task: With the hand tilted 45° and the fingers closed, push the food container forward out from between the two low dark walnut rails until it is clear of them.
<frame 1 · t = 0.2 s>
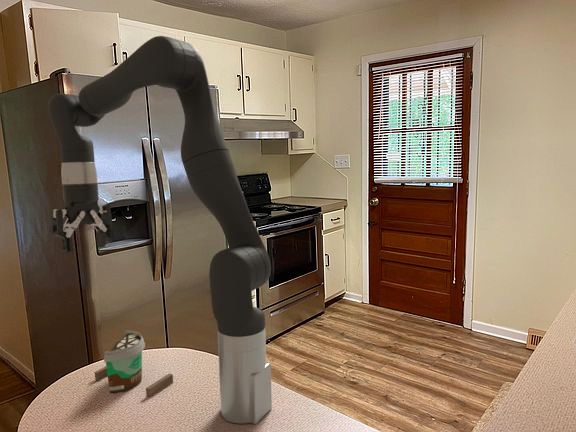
hand: (85, 250, 105), 29 cm above the countertop, tool pointing down, fingers open, 8 cm apart
food container: (132, 383, 99), on the countertop
slot rails: (133, 381, 99), on the countertop
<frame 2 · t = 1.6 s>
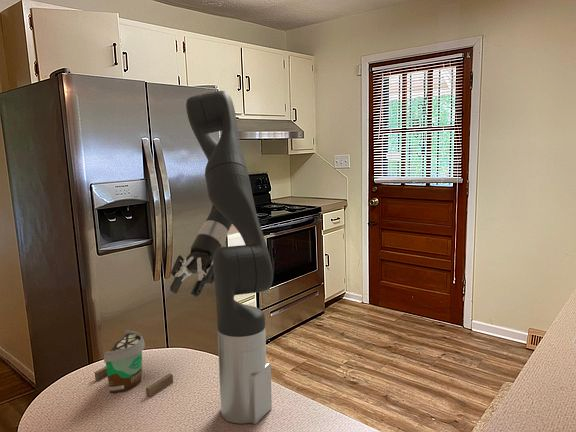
hand: (183, 293, 113), 15 cm above the countertop, tool tilted 45°, fingers open, 6 cm apart
nothing on the countertop moved.
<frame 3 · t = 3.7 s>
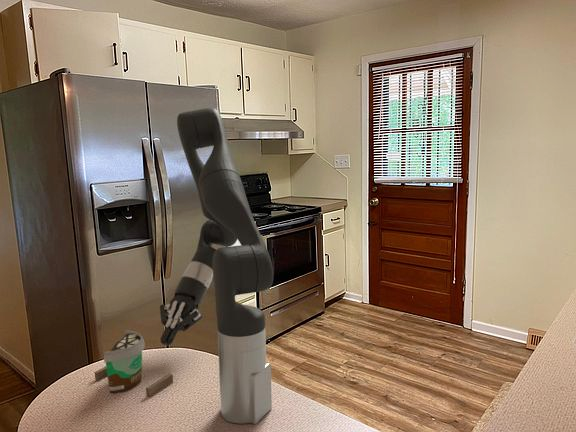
hand: (164, 344, 108), 5 cm above the countertop, tool tilted 45°, fingers closed
nothing on the countertop moved.
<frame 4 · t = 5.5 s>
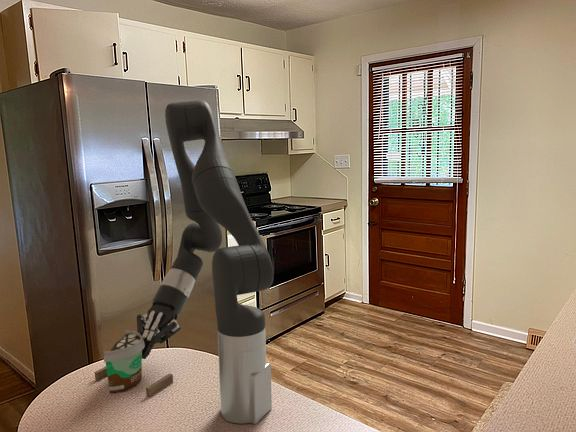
hand: (140, 357, 101), 5 cm above the countertop, tool tilted 45°, fingers closed
food container: (132, 383, 99), on the countertop, touching gripper
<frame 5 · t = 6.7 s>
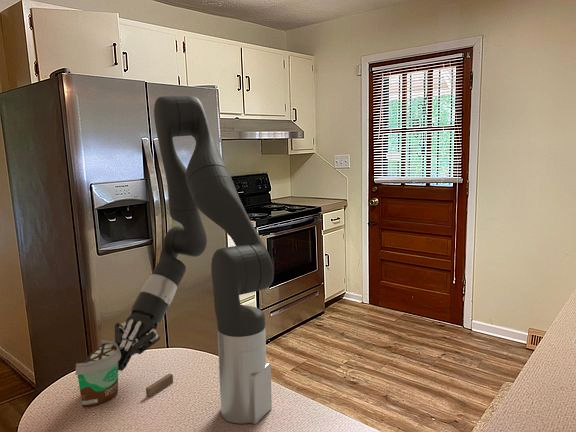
hand: (116, 369, 95), 5 cm above the countertop, tool tilted 45°, fingers closed
food container: (107, 396, 94), on the countertop, touching gripper
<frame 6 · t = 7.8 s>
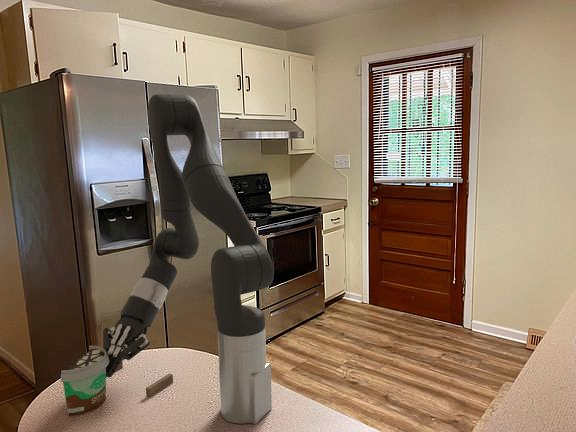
hand: (105, 375, 93), 5 cm above the countertop, tool tilted 45°, fingers closed
food container: (94, 403, 91), on the countertop, touching gripper
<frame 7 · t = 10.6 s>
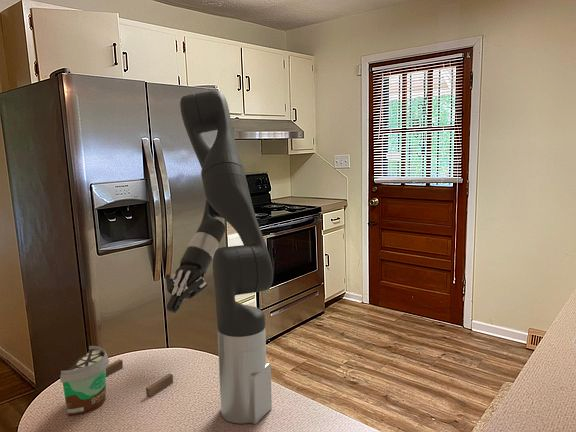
hand: (170, 311, 109), 12 cm above the countertop, tool tilted 45°, fingers closed
food container: (94, 404, 91), on the countertop
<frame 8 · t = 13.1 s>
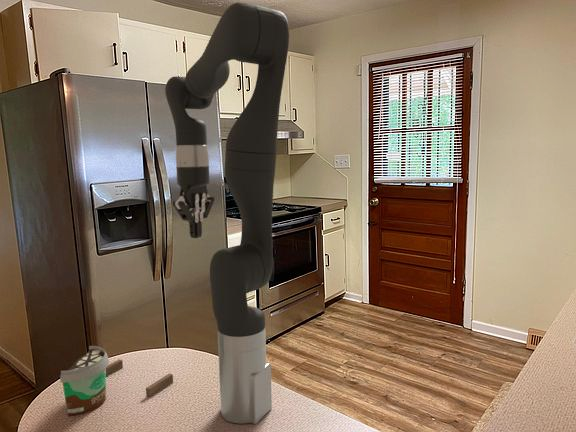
hand: (196, 237, 106), 31 cm above the countertop, tool pointing down, fingers closed
nothing on the countertop moved.
at the end: food container inside the target area (1.9 cm from its centre), on the countertop; food container tilted 0°; food container moved 9.6 cm from its start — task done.
